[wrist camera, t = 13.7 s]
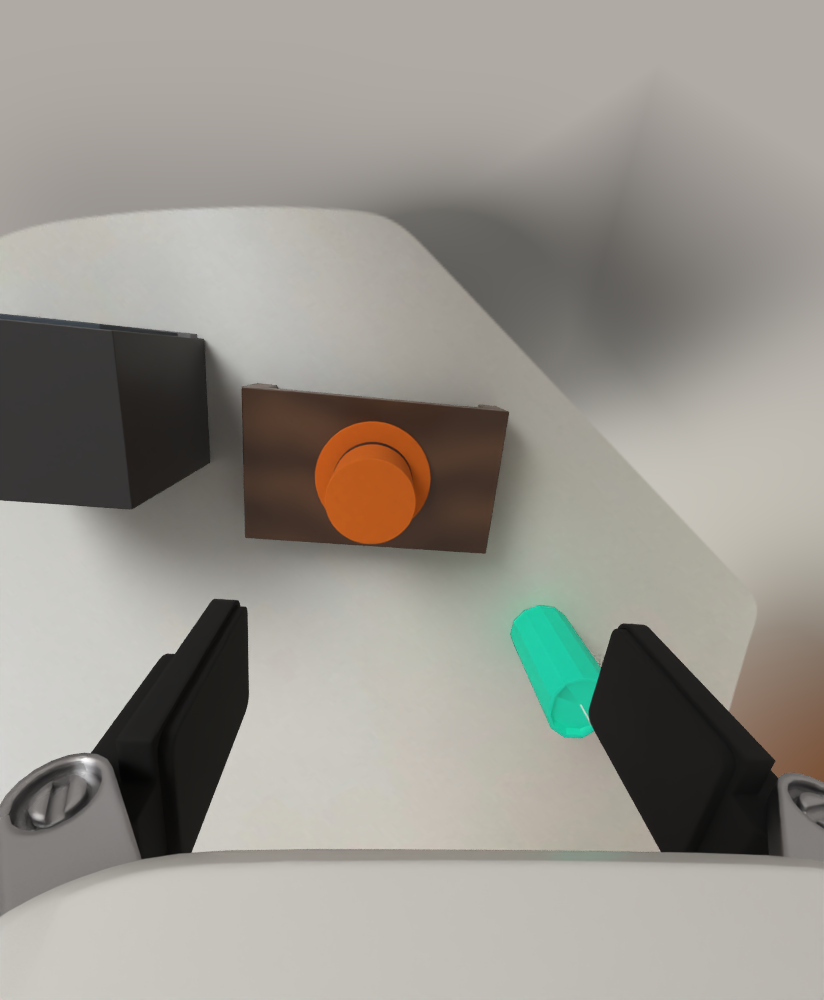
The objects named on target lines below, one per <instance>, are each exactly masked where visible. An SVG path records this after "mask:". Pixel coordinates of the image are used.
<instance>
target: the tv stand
mask: <svg viewBox="0 0 824 1000" xmlns="http://www.w3.org/2000/svg"><path fill="white" fill-rule="evenodd" d="M508 415H509V412H508V411H506V410H503V409H501V408H499V407H497V406H489V405H478V407H468V406H457V405H446V404H436V403H425V402H415V401H404V400H393V399H383V398H372V397H362V396H351V395H341V394H330V393H319V392H309V391H298V390H288V389H277V385H269V384H258V383H257V384H252V385H247V386H243V387H242V422H243V464H244V505H245V538H257V539H272V540H287V541H302V542H317V543H332V544H348V545H363V546H378V547H393V548H408V549H423V550H438V551H454V552H469V553H484V554H485V553H486V548H487V542H488V536H489V530H490V524H491V518H492V512H493V506H494V500H495V494H496V488H497V482H498V476H499V470H500V463H501V457H502V451H503V445H504V439H505V433H506V427H507V421H508ZM368 421H377V422H384V423H388V424H391V425H394V426H396V427H399V428H400V429H402V430H404V431H405V432H407V433H408V434H409V435H411V436H412V437H413V438H414V439H415V440H416V441H417V442H418V444H419V445H420V447H421V448H422V450H423V451H424V453H425V455H426V458H427V461H428V463H429V468H430V476H431V480H430V489H429V493H428V496H427V499H426V501H425V503H424V505H423V506H422V508H421V510H420V511H419V512H418V513H417V514H416V516H415V517H414V518H412V520H411V522H410V524H409V525H408V527H407V528H406V529H405V530H404V531H403V532H402V533H401V534H400V535H398V536H397V537H395V538H393V539H391V540H389V541H386V542H383V543H379V544H363V543H359V542H355V541H353V540H350V539H349V538H347V537H345V536H344V535H342V534H341V533H340V532H339V531H338V530H337V529H336V528H335V527H334V526H333V524H332V523H331V521H330V519H329V517H328V515H327V512H326V509H325V508H324V506H323V504H322V503H321V501H320V498H319V496H318V493H317V490H316V484H315V469H316V464H317V460H318V458H319V455H320V453H321V451H322V450H323V448H324V446H325V445H326V444H327V442H328V441H329V440H330V439H331V438H332V437H333V436H334V435H335V434H337V433H338V432H339V431H341V430H342V429H344V428H346V427H348V426H351V425H353V424H356V423H361V422H368Z"/></svg>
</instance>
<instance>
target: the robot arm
mask: <svg viewBox="0 0 824 1000" xmlns="http://www.w3.org/2000/svg"><path fill="white" fill-rule="evenodd" d="M248 698H249V675H248V613H247V608H246V607H240V603H239V601H238V600H224V599H213V600H212V601H211V603H210V604H209V605H208V607H207V608H206V610H205V611H204V613H203V614H202V616H201V617H200V618H199V620H198V621H197V623H196V624H195V626H194V627H193V629H192V630H191V631H190V633H189V634H188V636H187V637H186V639H185V640H184V642H183V643H182V644H181V646H180V647H179V649H178V650H177V652H176V653H175V654H165V655H163V656H162V657H161V658H160V659H159V661H158V662H157V663H156V665H155V666H154V667H153V669H152V670H151V671H150V673H149V674H148V676H147V677H146V678H145V680H144V681H143V682H142V684H141V685H140V687H139V688H138V689H137V691H136V692H135V693H134V695H133V696H132V698H131V699H130V700H129V702H128V703H127V704H126V706H125V707H124V709H123V710H122V711H121V713H120V714H119V715H118V717H117V718H116V719H115V721H114V722H113V724H112V725H111V726H110V728H109V729H108V730H107V732H106V733H105V735H104V736H103V737H102V739H101V740H100V741H99V743H98V744H97V746H96V747H95V748H94V750H93V751H92V752H91V753H80V754H73V755H68V756H65V757H62V758H59V759H56V760H53V761H51V762H49V763H47V764H45V765H43V766H41V767H39V768H37V769H36V770H34V771H33V772H31V773H30V774H29V775H27V776H26V777H25V778H23V779H22V780H21V781H19V782H18V783H17V784H16V785H15V786H14V787H13V788H12V789H11V791H10V792H9V793H8V794H7V795H6V796H5V798H4V799H3V801H2V803H1V804H0V1000H824V783H823V782H821V781H819V780H816V779H814V778H812V777H809V776H807V775H802V774H798V773H785V774H783V775H781V776H780V777H779V778H777V776H776V775H775V774H774V773H773V772H772V771H771V768H772V766H773V764H774V762H775V760H774V759H773V758H772V757H771V756H770V755H769V754H768V753H767V751H766V750H765V749H764V748H763V747H762V746H761V745H760V744H759V743H758V742H757V741H756V740H755V739H754V738H753V737H752V736H751V735H750V734H749V732H747V730H746V729H745V728H744V727H743V726H742V725H741V724H740V723H739V722H738V721H737V720H736V719H735V718H734V717H733V716H732V715H731V714H730V712H729V711H728V710H727V709H726V708H725V707H724V706H723V705H722V704H721V703H720V702H719V701H718V700H717V699H716V698H715V697H714V696H713V695H712V694H711V693H710V691H709V690H708V689H707V688H706V687H705V686H704V685H703V684H702V683H701V682H700V681H699V680H698V679H697V678H696V677H695V676H694V675H693V674H692V673H691V671H690V670H689V669H688V668H687V667H686V666H685V665H684V664H683V663H682V662H681V661H680V660H679V659H678V658H677V657H676V656H675V655H674V654H673V653H672V652H671V650H670V649H669V648H668V647H667V646H666V645H665V644H664V643H663V642H662V641H661V640H660V639H659V638H658V637H657V636H656V635H655V634H654V633H653V632H652V630H651V629H650V628H649V627H647V626H646V625H639V624H621V625H620V626H619V627H618V629H614V631H613V632H612V634H611V638H610V641H609V644H608V647H607V651H606V654H605V657H604V661H603V664H602V667H601V670H600V674H599V677H598V680H597V683H596V687H595V690H594V693H593V697H592V700H591V703H590V706H589V714H588V715H589V720H590V723H591V726H592V727H593V729H594V731H595V733H596V735H597V737H598V738H599V740H600V742H601V744H602V746H603V747H604V749H605V751H606V753H607V755H608V756H609V758H610V760H611V762H612V764H613V766H614V767H615V769H616V771H617V773H618V775H619V776H620V778H621V780H622V782H623V784H624V786H625V787H626V789H627V791H628V793H629V795H630V796H631V798H632V800H633V802H634V804H635V806H636V807H637V809H638V811H639V813H640V815H641V816H642V818H643V820H644V822H645V824H646V826H647V827H648V829H649V831H650V833H651V835H652V836H653V838H654V840H655V842H656V844H657V846H658V847H659V849H660V851H661V852H617V851H539V850H406V849H294V850H231V851H212V852H197V853H191V852H192V850H193V847H194V845H195V842H196V839H197V837H198V834H199V832H200V829H201V826H202V824H203V821H204V819H205V816H206V813H207V811H208V808H209V806H210V803H211V800H212V798H213V795H214V793H215V790H216V787H217V785H218V782H219V780H220V777H221V774H222V772H223V769H224V767H225V764H226V761H227V759H228V756H229V754H230V751H231V748H232V746H233V743H234V741H235V738H236V736H237V733H238V730H239V728H240V725H241V723H242V720H243V717H244V715H245V712H246V709H247V705H248Z"/></svg>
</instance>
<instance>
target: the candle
mask: <svg viewBox="0 0 824 1000" xmlns="http://www.w3.org/2000/svg"><path fill="white" fill-rule="evenodd" d="M510 635H511V638H512V640H513V643H514V646H515V648H516V650H517V653H518V655H519V657H520V660H521V662H522V664H523V666H524V669H525V671H526V673H527V675H528V678H529V680H530V682H531V684H532V687H533V689H534V691H535V693H536V696H537V698H538V700H539V702H540V705H541V707H542V709H543V711H544V714H545V716H546V718H547V720H548V723H549V725H550V727H551V729H553V730H554V731H556V732H557V733H559V734H560V735H561V736H563V737H564V738H583V737H585V736H587V735H588V734H590V733H592V732H594V729H593V727H592V726H591V723H590V720H589V715H588V714H589V706H590V703H591V700H592V697H593V693H594V690H595V687H596V683H597V680H598V677H599V674H600V670H601V668H600V666H599V665H598V663H597V662H596V660H595V659H594V657H593V656H592V655H591V653H590V652H589V650H588V649H587V647H586V646H585V644H584V643H583V642H582V640H581V639H580V637H579V636H578V634H577V633H576V631H575V630H574V628H573V627H572V626H571V624H570V623H569V621H568V620H567V618H566V617H565V615H563V614H562V613H561V612H560V611H558V610H557V609H556V608H554V607H549V606H541V605H539V606H536V607H533V608H530V609H527V610H524V611H523V612H522V613H521V614H520V615H519V616H518V617H517V618H516V619H515V620H514V622H513V626H512V630H511V633H510Z"/></svg>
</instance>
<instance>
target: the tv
mask: <svg viewBox="0 0 824 1000" xmlns="http://www.w3.org/2000/svg"><path fill="white" fill-rule="evenodd" d="M209 463H210V451H209V430H208V410H207V389H206V368H205V348H204V339H198V338H197V334H190V333H181V332H171V331H161V330H152V329H142V328H132V327H122V326H113V325H104V324H95V323H86V322H76V321H66V320H56V319H47V318H37V317H27V316H18V315H8V314H0V500H4V501H18V502H33V503H47V504H61V505H76V506H90V507H104V508H119V509H133V508H135V507H137V506H138V505H140V504H142V503H143V502H145V501H147V500H148V499H150V498H152V497H154V496H155V495H157V494H159V493H160V492H162V491H164V490H165V489H167V488H169V487H170V486H172V485H174V484H175V483H177V482H179V481H180V480H182V479H184V478H185V477H187V476H189V475H190V474H192V473H194V472H195V471H197V470H199V469H200V468H202V467H204V466H205V465H207V464H209Z"/></svg>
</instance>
